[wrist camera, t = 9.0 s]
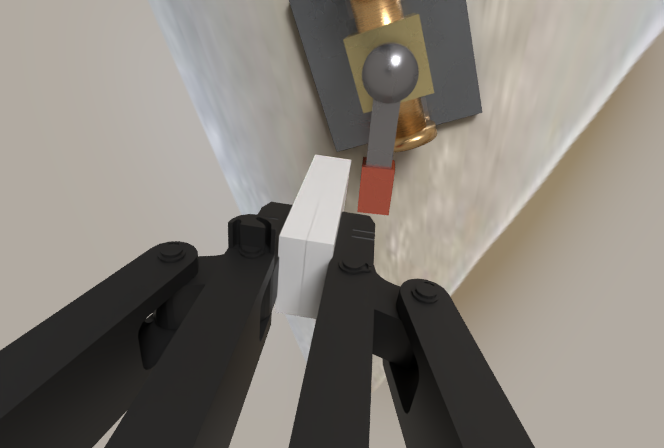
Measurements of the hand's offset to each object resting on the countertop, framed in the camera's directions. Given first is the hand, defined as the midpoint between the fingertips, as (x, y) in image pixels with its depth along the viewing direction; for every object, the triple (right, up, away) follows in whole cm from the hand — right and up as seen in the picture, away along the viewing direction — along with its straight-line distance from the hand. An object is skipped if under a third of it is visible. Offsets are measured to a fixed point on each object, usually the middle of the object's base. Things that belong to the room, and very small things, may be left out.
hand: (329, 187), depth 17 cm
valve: (+6, +15, +22) cm, 27 cm away
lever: (+4, +6, +16) cm, 17 cm away
